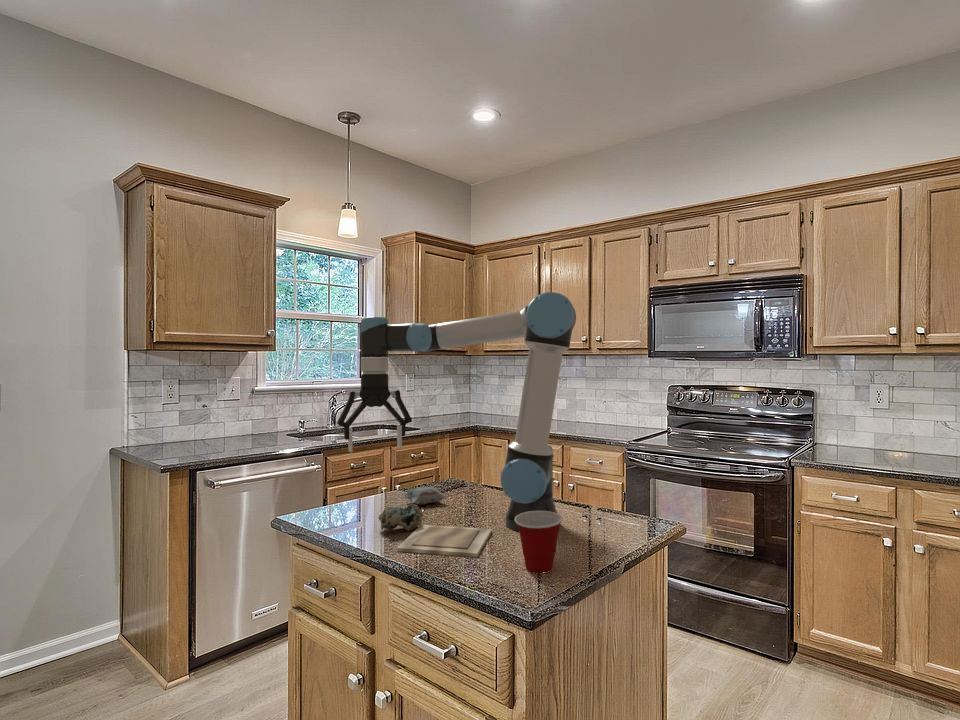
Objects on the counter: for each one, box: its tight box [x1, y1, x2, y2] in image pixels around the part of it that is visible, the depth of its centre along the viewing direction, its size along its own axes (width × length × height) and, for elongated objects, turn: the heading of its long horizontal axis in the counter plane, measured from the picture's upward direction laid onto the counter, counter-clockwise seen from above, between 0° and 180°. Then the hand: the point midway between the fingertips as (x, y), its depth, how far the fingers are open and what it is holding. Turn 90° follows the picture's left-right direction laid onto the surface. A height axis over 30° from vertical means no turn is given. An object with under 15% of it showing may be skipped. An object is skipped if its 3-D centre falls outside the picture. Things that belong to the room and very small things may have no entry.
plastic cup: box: [514, 511, 563, 574], centre depth 129 cm, size 11×11×12 cm
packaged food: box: [404, 486, 448, 506], centre depth 187 cm, size 9×12×5 cm
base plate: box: [396, 524, 493, 558], centre depth 149 cm, size 20×20×1 cm
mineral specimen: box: [377, 503, 424, 532], centre depth 159 cm, size 12×9×8 cm
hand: (375, 450), depth 159 cm, fingers open, 13 cm apart
